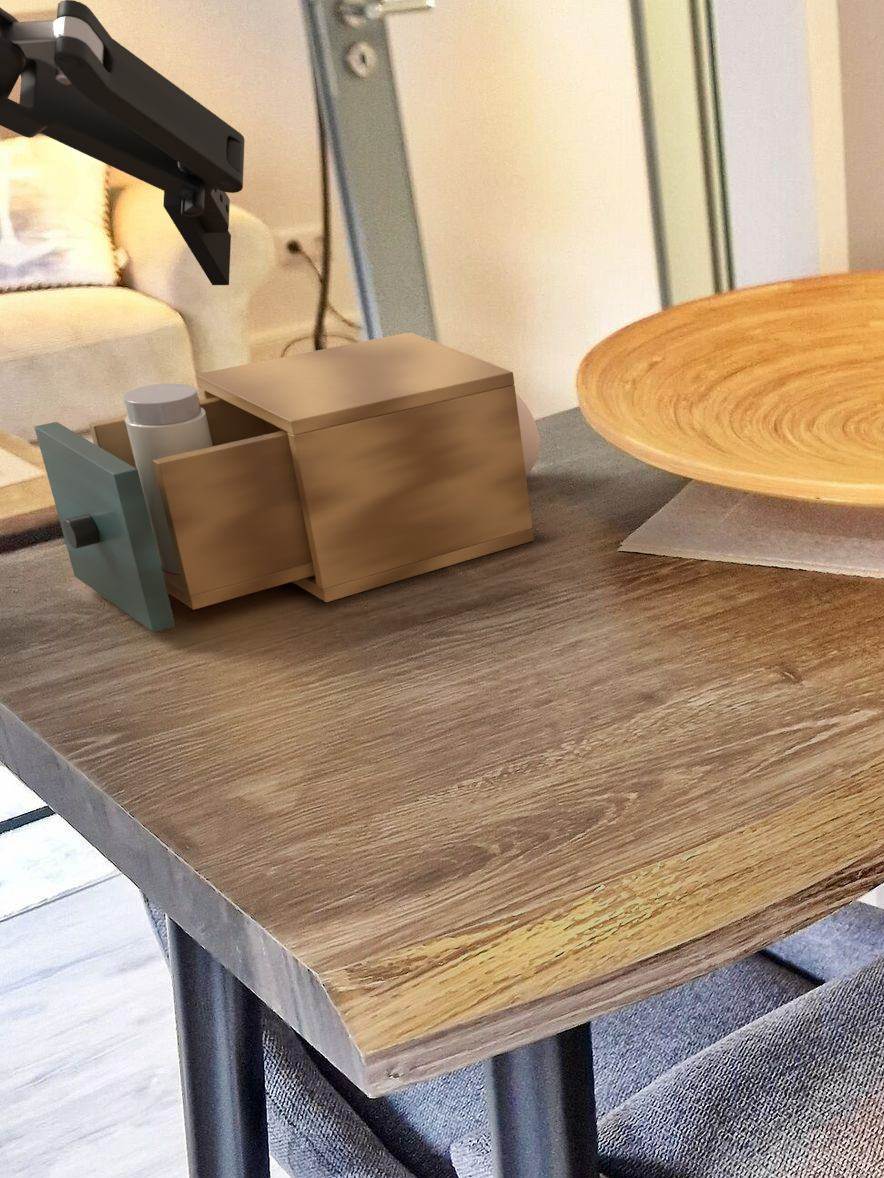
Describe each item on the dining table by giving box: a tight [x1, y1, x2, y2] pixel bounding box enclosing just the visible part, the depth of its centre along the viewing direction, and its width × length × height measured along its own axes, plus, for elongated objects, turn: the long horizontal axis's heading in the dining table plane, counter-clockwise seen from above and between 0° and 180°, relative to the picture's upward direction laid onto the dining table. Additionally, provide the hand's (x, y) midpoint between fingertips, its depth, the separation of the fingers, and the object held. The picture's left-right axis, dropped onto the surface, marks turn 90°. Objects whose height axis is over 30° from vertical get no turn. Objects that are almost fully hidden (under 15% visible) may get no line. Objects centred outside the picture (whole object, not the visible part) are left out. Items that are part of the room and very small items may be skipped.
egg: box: [516, 393, 540, 477], centre depth 112 cm, size 5×5×7 cm
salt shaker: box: [122, 382, 213, 574], centre depth 94 cm, size 4×4×10 cm
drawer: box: [33, 397, 315, 633], centre depth 95 cm, size 14×10×9 cm
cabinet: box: [195, 331, 535, 603], centre depth 101 cm, size 14×12×11 cm
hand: (71, 261), depth 81 cm, fingers open, 13 cm apart
